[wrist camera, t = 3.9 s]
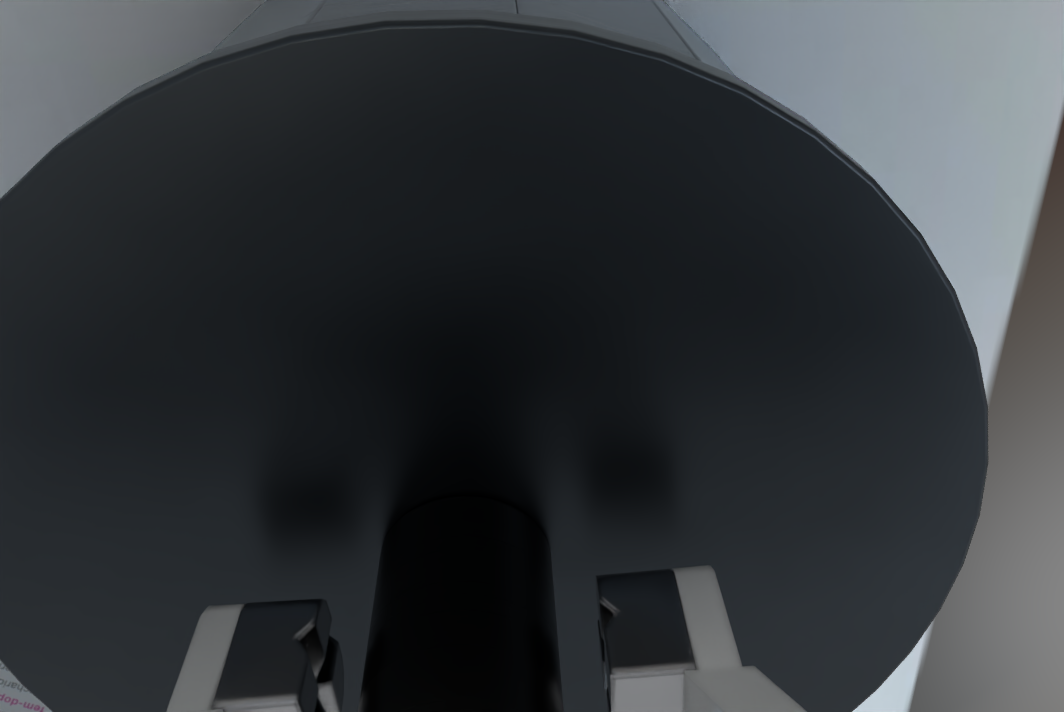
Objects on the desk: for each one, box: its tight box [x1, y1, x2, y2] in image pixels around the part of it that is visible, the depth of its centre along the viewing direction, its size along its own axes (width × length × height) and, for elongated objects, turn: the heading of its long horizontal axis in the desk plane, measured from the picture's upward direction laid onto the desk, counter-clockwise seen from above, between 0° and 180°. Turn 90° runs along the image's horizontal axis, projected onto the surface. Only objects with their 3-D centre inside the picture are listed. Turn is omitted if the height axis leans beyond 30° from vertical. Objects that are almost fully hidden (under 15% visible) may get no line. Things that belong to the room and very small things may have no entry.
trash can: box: [212, 0, 735, 76], centre depth 18 cm, size 14×14×12 cm
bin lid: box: [0, 9, 988, 712], centre depth 12 cm, size 15×15×5 cm
